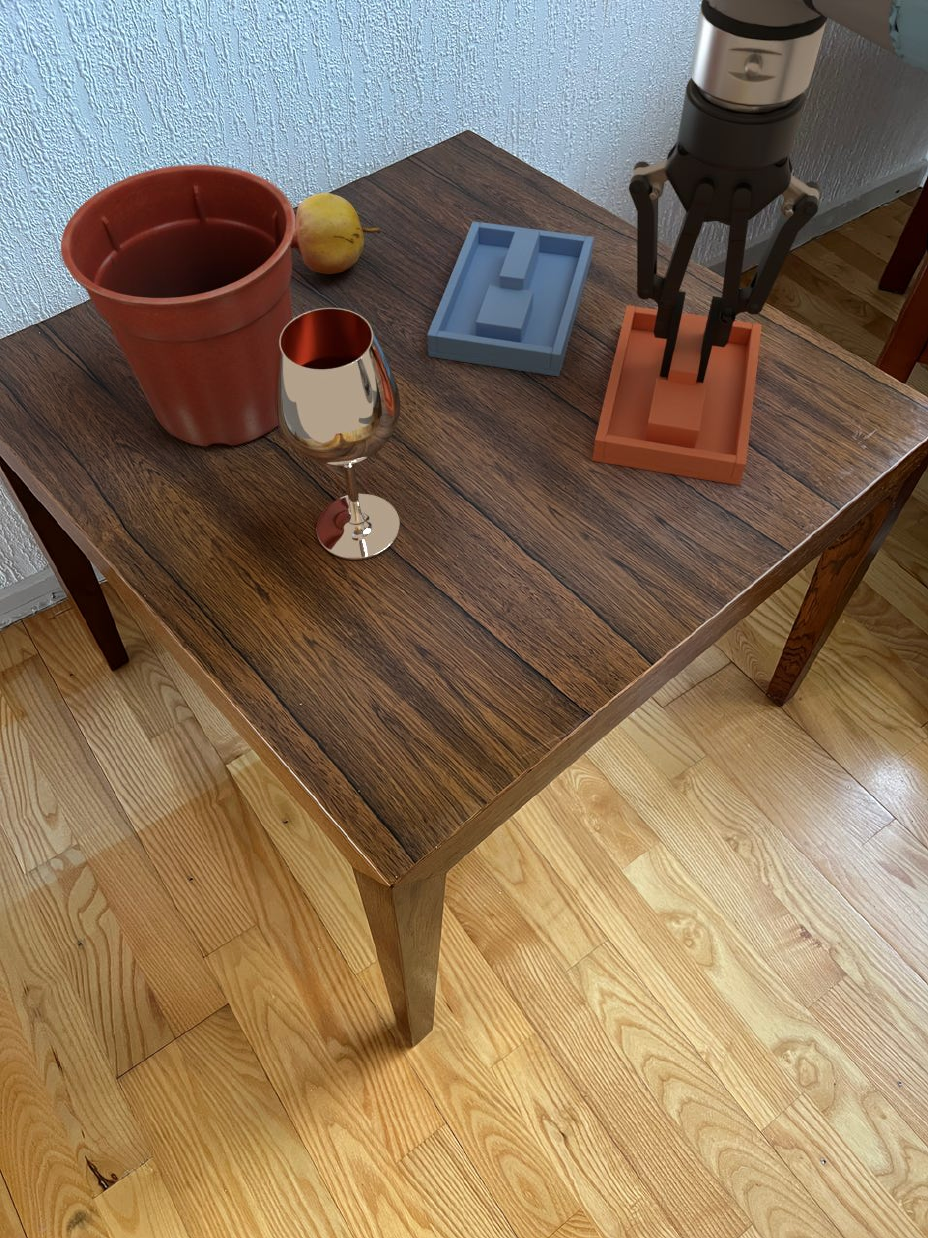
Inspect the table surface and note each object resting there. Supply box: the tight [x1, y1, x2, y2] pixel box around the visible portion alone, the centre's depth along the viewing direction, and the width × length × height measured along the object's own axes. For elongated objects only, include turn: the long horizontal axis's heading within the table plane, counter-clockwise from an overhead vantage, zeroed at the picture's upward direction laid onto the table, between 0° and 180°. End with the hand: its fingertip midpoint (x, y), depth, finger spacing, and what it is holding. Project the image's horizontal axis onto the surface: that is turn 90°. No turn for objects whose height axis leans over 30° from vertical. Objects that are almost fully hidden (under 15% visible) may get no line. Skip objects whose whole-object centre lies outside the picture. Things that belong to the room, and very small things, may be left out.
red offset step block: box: [645, 312, 708, 448], centre depth 78 cm, size 12×4×3 cm, turn 166°
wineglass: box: [274, 307, 401, 561], centre depth 66 cm, size 8×8×18 cm
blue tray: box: [426, 221, 595, 377], centre depth 86 cm, size 12×17×2 cm
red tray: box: [592, 304, 763, 486], centre depth 79 cm, size 12×17×2 cm
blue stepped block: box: [476, 227, 540, 343], centre depth 86 cm, size 12×4×3 cm, turn 166°
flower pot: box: [60, 163, 296, 447], centre depth 75 cm, size 16×16×16 cm
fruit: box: [290, 192, 381, 275], centre depth 88 cm, size 7×7×10 cm
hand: (683, 368), depth 81 cm, fingers closed on red offset step block, 2 cm apart
